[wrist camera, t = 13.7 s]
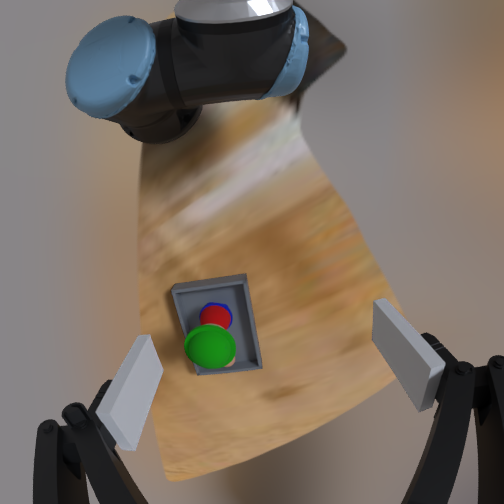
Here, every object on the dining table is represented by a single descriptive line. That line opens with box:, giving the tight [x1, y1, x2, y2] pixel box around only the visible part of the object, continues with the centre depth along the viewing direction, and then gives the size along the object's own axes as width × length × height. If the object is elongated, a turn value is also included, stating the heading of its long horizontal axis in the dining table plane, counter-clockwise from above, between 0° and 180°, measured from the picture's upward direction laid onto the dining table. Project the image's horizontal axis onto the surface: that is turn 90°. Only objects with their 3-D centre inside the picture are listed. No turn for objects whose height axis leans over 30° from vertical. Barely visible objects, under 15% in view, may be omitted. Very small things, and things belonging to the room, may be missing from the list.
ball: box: [224, 357, 235, 367], centre depth 54 cm, size 4×4×4 cm
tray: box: [171, 273, 262, 375], centre depth 53 cm, size 19×13×3 cm
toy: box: [184, 302, 236, 369], centre depth 46 cm, size 8×8×15 cm
